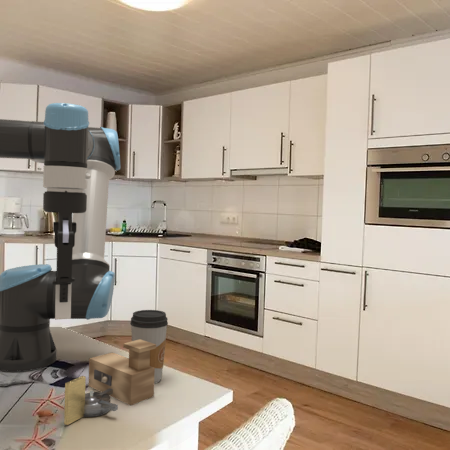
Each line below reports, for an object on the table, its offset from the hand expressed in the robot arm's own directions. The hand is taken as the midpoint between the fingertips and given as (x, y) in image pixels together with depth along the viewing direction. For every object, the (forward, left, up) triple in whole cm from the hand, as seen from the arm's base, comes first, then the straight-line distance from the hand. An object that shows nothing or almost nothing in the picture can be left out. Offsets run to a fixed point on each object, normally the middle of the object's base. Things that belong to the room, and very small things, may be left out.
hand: (62, 318), depth 88 cm
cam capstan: (+4, +4, -18) cm, 19 cm away
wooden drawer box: (0, +14, -18) cm, 23 cm away
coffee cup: (-1, +22, -18) cm, 29 cm away
